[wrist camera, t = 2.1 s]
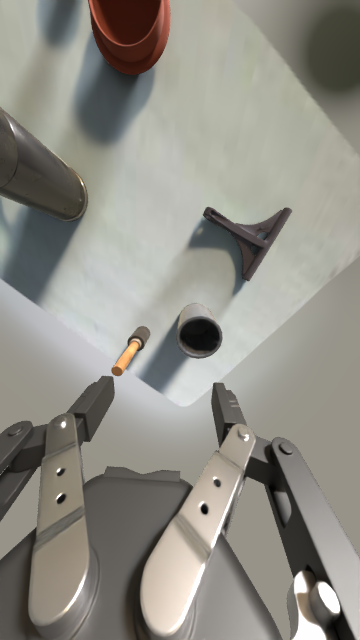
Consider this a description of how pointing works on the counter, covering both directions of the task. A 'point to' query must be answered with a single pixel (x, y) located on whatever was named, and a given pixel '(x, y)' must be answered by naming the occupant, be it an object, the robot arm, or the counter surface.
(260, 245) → the bracket
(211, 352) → the grey metal cup
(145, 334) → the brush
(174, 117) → the counter surface
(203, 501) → the robot arm
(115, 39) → the pottery
